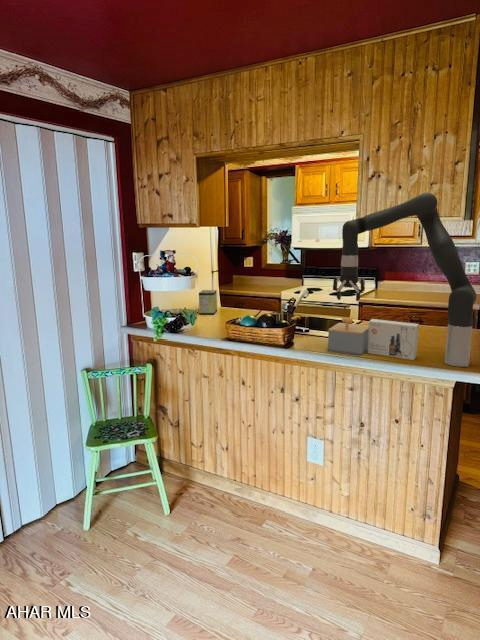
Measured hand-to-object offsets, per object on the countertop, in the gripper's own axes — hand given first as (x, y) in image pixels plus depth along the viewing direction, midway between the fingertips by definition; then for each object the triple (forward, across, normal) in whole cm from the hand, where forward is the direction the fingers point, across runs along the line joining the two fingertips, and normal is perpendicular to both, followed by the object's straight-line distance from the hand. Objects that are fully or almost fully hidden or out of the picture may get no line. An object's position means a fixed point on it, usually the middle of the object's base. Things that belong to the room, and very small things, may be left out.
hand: (348, 300), depth 199 cm
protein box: (+26, +115, -51) cm, 128 cm away
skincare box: (+25, -20, -4) cm, 32 cm away
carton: (+25, 0, -5) cm, 25 cm away
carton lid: (+15, 0, -5) cm, 16 cm away
